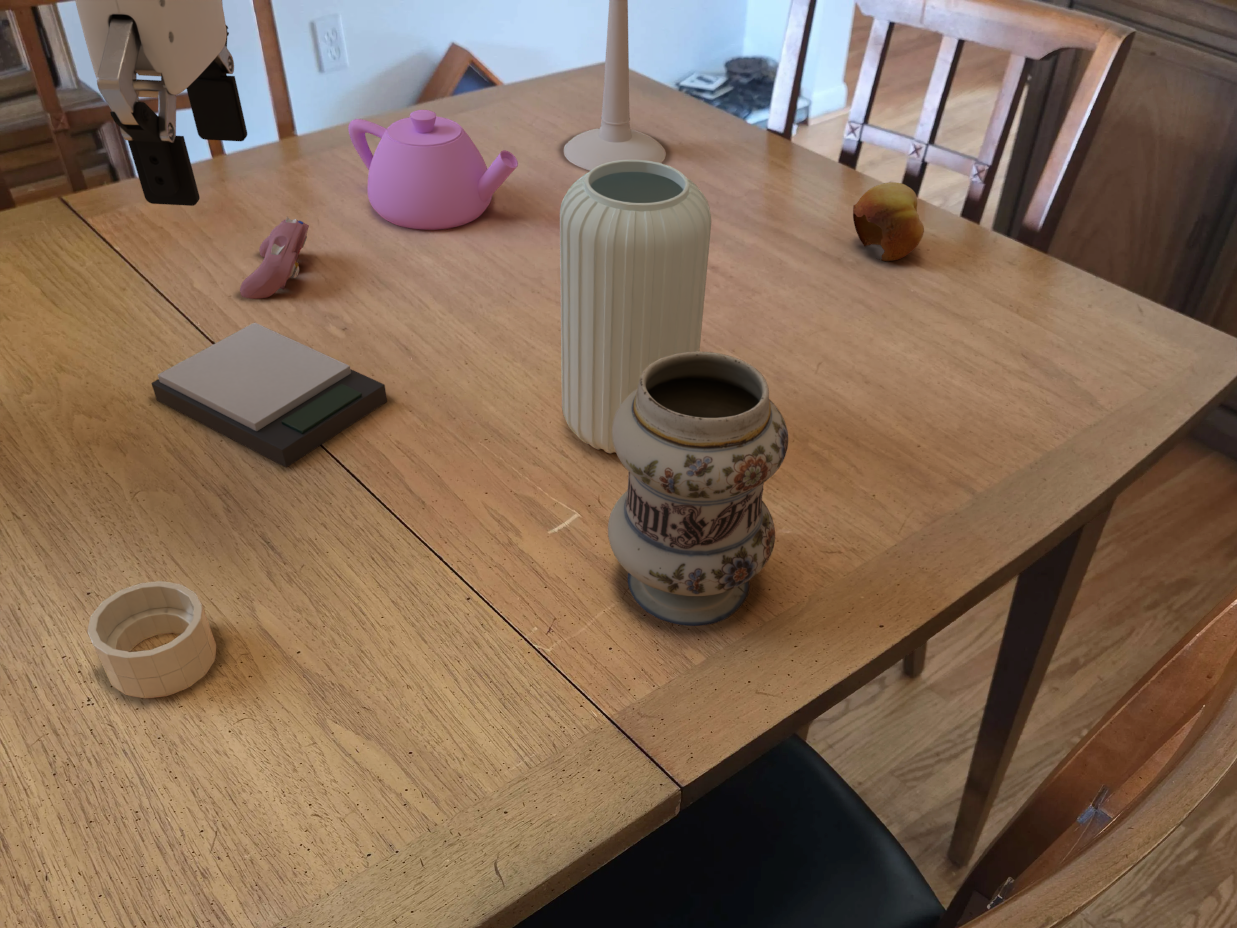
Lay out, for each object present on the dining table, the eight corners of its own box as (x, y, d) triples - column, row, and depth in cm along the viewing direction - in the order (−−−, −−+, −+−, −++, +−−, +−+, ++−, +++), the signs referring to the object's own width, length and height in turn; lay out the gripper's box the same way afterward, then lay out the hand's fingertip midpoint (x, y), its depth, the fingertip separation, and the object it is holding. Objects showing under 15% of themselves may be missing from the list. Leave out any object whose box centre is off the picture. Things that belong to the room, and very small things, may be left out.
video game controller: (281, 319, 110) (301, 262, 106) (235, 299, 109) (254, 240, 104) (301, 271, 117) (321, 216, 113) (258, 252, 115) (277, 194, 111)
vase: (716, 448, 96) (744, 198, 80) (600, 485, 91) (605, 229, 75) (650, 381, 102) (664, 139, 86) (539, 413, 98) (532, 164, 82)
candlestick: (557, 138, 140) (553, -145, 119) (655, 134, 142) (669, -144, 121) (570, 181, 132) (569, -116, 110) (675, 177, 134) (694, -115, 112)
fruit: (897, 282, 118) (914, 209, 112) (830, 257, 121) (843, 185, 115) (929, 256, 122) (947, 185, 116) (864, 233, 125) (878, 163, 120)
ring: (87, 673, 75) (64, 626, 72) (171, 614, 79) (153, 566, 76) (156, 720, 72) (136, 673, 69) (239, 656, 76) (224, 609, 73)
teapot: (495, 254, 118) (489, 154, 111) (329, 220, 122) (313, 122, 114) (543, 202, 127) (541, 106, 120) (388, 172, 131) (376, 78, 124)
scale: (158, 406, 97) (148, 374, 94) (262, 348, 104) (255, 317, 101) (287, 473, 91) (280, 441, 88) (388, 407, 98) (383, 376, 96)
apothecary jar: (713, 519, 89) (736, 319, 76) (796, 613, 82) (837, 410, 69) (579, 563, 85) (579, 358, 72) (654, 666, 77) (669, 460, 64)
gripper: (110, -188, 64) (187, 114, 77) (-30, -117, 52) (88, 227, 65) (236, -182, 64) (294, 120, 77) (126, -110, 52) (214, 234, 65)
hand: (200, 169), depth 71 cm, fingers open, 9 cm apart
